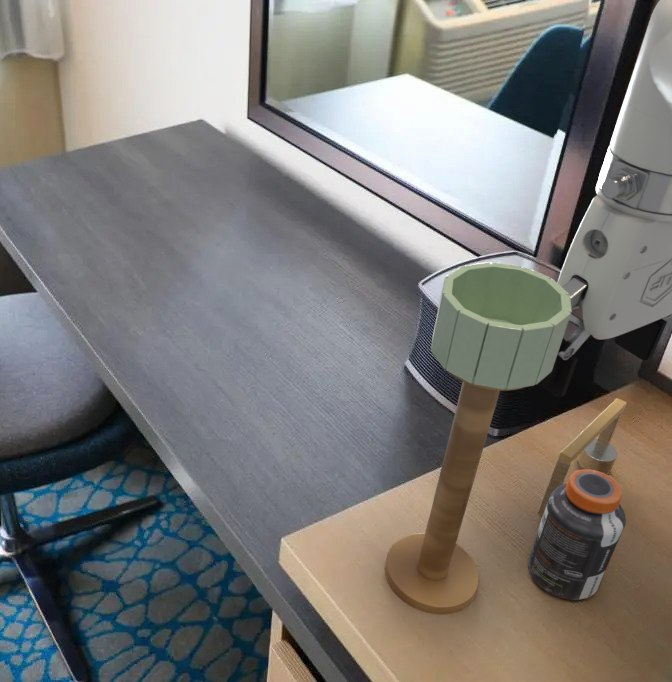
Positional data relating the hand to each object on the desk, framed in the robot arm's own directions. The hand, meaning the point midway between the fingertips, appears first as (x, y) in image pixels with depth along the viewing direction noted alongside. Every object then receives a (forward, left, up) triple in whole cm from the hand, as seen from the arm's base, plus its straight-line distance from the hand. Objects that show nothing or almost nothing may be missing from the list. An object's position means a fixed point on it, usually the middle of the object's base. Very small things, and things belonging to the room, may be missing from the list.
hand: (589, 368), depth 65 cm
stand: (+3, +13, -19) cm, 23 cm away
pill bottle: (-5, +4, -19) cm, 20 cm away
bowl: (+3, +13, +7) cm, 15 cm away
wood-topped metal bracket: (-1, -7, -19) cm, 20 cm away
